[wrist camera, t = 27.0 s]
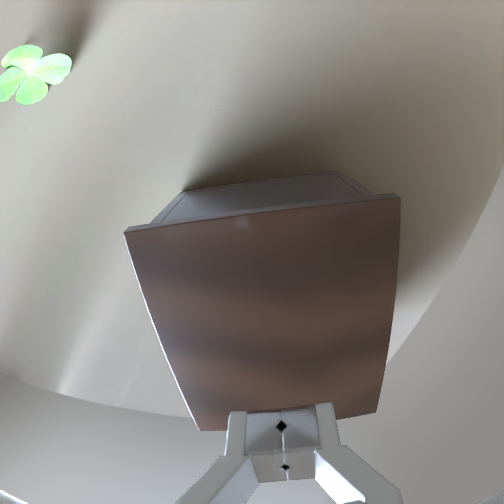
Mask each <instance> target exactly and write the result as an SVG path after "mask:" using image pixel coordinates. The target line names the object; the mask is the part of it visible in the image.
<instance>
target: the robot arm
mask: <svg viewBox="0 0 504 504" xmlns="http://www.w3.org/2000/svg"><path fill="white" fill-rule="evenodd" d="M310 478H316V480H317V481H318V482H319V484H320V485H321V486H322V487H323V488H324V489H325V490H326V491H327V493H328V494H329V495H330V496H331V497H332V498H333V499H334V500H335V502H336V503H337V504H403V501H402V497H401V493H400V490H399V489H398V488H397V487H396V486H395V485H393V484H392V483H391V482H390V481H388V480H387V479H386V478H384V477H383V476H382V475H381V474H380V473H378V472H377V471H376V470H375V469H374V468H372V467H371V466H370V465H369V464H368V463H366V462H365V461H364V460H363V459H362V458H360V457H359V456H358V455H357V454H356V453H355V452H353V451H352V450H351V449H350V448H349V447H348V446H347V445H342V446H341V443H340V438H339V433H338V427H337V422H336V417H335V412H334V407H333V404H332V402H328V403H321V404H315V405H314V404H311V405H304V406H297V407H288V408H281V409H273V410H254V411H231V413H230V415H229V421H228V430H227V440H226V449H225V456H219V457H218V458H217V459H216V461H215V462H214V463H213V464H212V465H211V466H210V467H209V468H208V469H207V470H206V471H205V472H204V473H203V474H202V475H201V477H199V479H198V480H197V481H196V482H195V483H194V484H193V485H192V486H191V487H190V488H189V489H188V490H187V491H186V492H185V493H184V494H183V495H182V496H181V497H180V498H179V499H178V500H177V501H176V502H175V503H173V504H246V503H247V501H248V500H249V498H250V497H251V495H252V494H253V493H254V491H255V490H256V488H257V487H258V486H259V483H262V482H275V481H286V480H298V479H310ZM0 504H27V503H25V502H23V501H20V500H18V499H16V498H14V497H12V496H10V495H8V494H6V493H5V492H3V491H1V490H0ZM476 504H504V490H502V491H500V492H498V493H497V494H495V495H493V496H491V497H489V498H487V499H485V500H483V501H481V502H479V503H476Z"/></svg>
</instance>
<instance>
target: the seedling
mask: <svg viewBox="0 0 504 504" xmlns="http://www.w3.org/2000/svg"><path fill="white" fill-rule="evenodd" d="M42 54H43V50H42V49H41V48H40V47H37V46H32V45H22V46H19V47H17V48H15V49H13V50H11V51H10V52H9V53H7V54H6V55H5V57H4V58H3V60H2V66H3V67H4V68H6V69H7V70H6V71H5V72H4V73H3V74H2V75H1V76H0V102H4V101H6V100H8V99H9V98H11V96H12V95H13V94H14V93H15V91H16V90H17V88H18V87H19V85H20V84H21V82H22V81H23V82H22V84H21V86H20V87H19V89H18V91H17V93H16V101H17V102H18V103H19V104H22V105H30V104H32V103H35V102H38V101H40V100H42V99H43V98H44V97H45V96H46V94H47V91H48V87H47V85H46V83H45V82H47V83H50V84H59V83H61V82H62V81H63V79H64V77H65V76H67V75H68V74H69V72H70V69H71V59H70V58H69V57H68V56H67V55H64V54H61V53H60V54H52V55H48V56H45V57H42V58H41V56H42ZM40 58H41V59H40ZM39 59H40V60H39ZM37 61H38V62H37ZM36 62H37V63H36ZM44 81H45V82H44Z"/></svg>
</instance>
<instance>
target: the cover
mask: <svg viewBox="0 0 504 504" xmlns="http://www.w3.org/2000/svg"><path fill="white" fill-rule="evenodd" d="M400 205H401V198H400V197H399V196H398V195H396V194H395V193H392V194H381V195H370V196H359V197H349V198H339V199H329V200H320V201H311V202H302V203H293V204H285V205H277V206H269V207H261V208H253V209H245V210H238V211H230V212H223V213H216V214H209V215H202V216H195V217H189V218H182V219H175V220H169V221H163V222H156V223H150V224H144V225H138V226H132V227H128V228H127V229H126V230H125V231H124V232H123V234H124V237H125V241H126V244H127V248H128V251H129V254H130V257H131V261H132V264H133V267H134V270H135V273H136V276H137V279H138V282H139V285H140V288H141V291H142V294H143V297H144V300H145V303H146V306H147V308H148V311H149V314H150V317H151V319H152V322H153V325H154V327H155V330H156V333H157V335H158V338H159V340H160V343H161V345H162V348H163V351H164V353H165V355H166V358H167V360H168V363H169V365H170V368H171V370H172V372H173V375H174V377H175V379H176V382H177V384H178V386H179V389H180V391H181V393H182V395H183V398H184V400H185V402H186V404H187V406H188V408H189V411H190V413H191V415H192V417H193V419H194V421H195V423H196V425H197V427H198V429H199V431H220V430H221V431H224V430H228V421H229V415H230V413H231V411H254V410H273V409H281V408H288V407H297V406H304V405H311V404H314V405H315V404H321V403H328V402H332V404H333V407H334V412H335V417H336V420H338V419H344V418H350V417H355V416H360V415H366V414H371V413H375V412H376V410H377V406H378V401H379V396H380V392H381V387H382V382H383V376H384V371H385V366H386V360H387V354H388V348H389V341H390V334H391V327H392V320H393V311H394V303H395V293H396V283H397V271H398V257H399V239H400Z"/></svg>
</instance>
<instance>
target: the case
mask: <svg viewBox="0 0 504 504" xmlns="http://www.w3.org/2000/svg"><path fill="white" fill-rule="evenodd" d="M370 195H375V194H373V193H372V192H370V191H369V190H368V189H366V188H365V187H363V186H362V185H360V184H359V183H358V182H356V181H355V180H353V179H352V178H350V177H349V176H347V175H346V174H344V173H343V172H332V173H322V174H312V175H302V176H293V177H284V178H276V179H268V180H260V181H252V182H245V183H238V184H231V185H224V186H217V187H211V188H204V189H198V190H192V191H186V192H181V193H180V194H179V195H177V196H176V197H175V198H174V199H173V200H172V201H171V202H170V203H169V204H168V205H167V206H166V207H165V208H164V209H163V210H162V211H161V212H160V213H159V215H158V216H157V217H156V218H155V219H154V220H153V221H152V222H151V223H156V222H163V221H169V220H175V219H182V218H189V217H195V216H202V215H209V214H216V213H223V212H230V211H238V210H245V209H253V208H261V207H269V206H277V205H285V204H293V203H302V202H311V201H320V200H329V199H339V198H349V197H359V196H370Z"/></svg>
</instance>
